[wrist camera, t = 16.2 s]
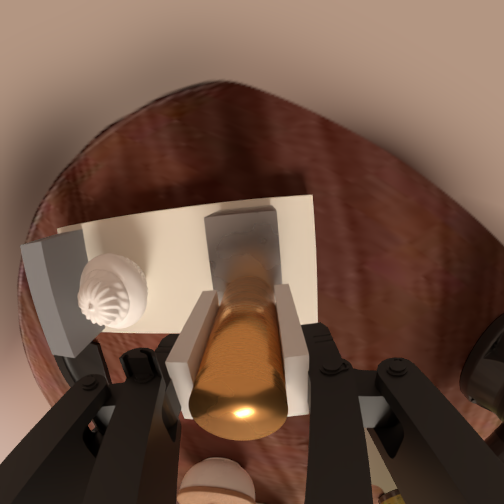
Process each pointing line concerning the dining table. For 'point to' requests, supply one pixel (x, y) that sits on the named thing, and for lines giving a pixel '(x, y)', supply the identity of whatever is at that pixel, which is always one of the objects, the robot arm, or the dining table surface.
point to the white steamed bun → (112, 291)
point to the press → (158, 266)
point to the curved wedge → (83, 364)
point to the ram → (242, 329)
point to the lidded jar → (216, 483)
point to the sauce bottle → (391, 498)
